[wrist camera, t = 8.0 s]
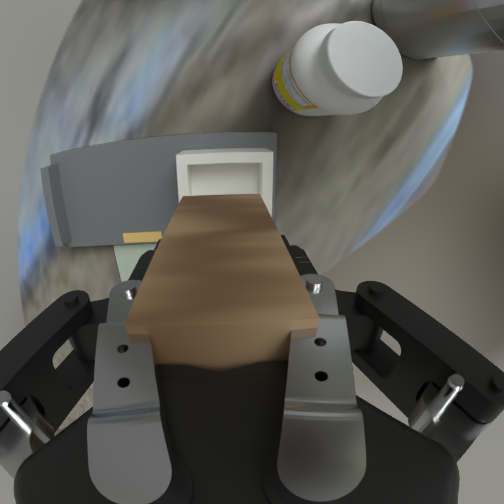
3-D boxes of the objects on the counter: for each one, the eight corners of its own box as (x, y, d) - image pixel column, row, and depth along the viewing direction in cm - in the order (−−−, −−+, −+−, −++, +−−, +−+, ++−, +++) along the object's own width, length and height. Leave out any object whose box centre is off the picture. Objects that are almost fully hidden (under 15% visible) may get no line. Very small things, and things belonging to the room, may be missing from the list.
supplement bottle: (345, 67, 22) (425, 43, 10) (327, 125, 25) (403, 135, 13) (281, 43, 21) (326, -12, 9) (261, 103, 23) (293, 86, 12)
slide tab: (266, 148, 23) (273, 152, 20) (265, 225, 26) (270, 240, 23) (182, 150, 23) (175, 155, 19) (187, 228, 26) (182, 243, 23)
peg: (259, 193, 15) (319, 317, 6) (258, 262, 16) (296, 416, 7) (182, 196, 14) (124, 324, 5) (188, 264, 16) (163, 422, 7)
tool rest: (197, 238, 28) (196, 241, 28) (204, 309, 32) (204, 314, 32) (116, 241, 28) (113, 245, 27) (132, 309, 32) (130, 314, 31)
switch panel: (273, 131, 24) (281, 133, 21) (271, 231, 29) (277, 247, 25) (60, 152, 23) (39, 158, 19) (74, 239, 27) (58, 255, 24)
